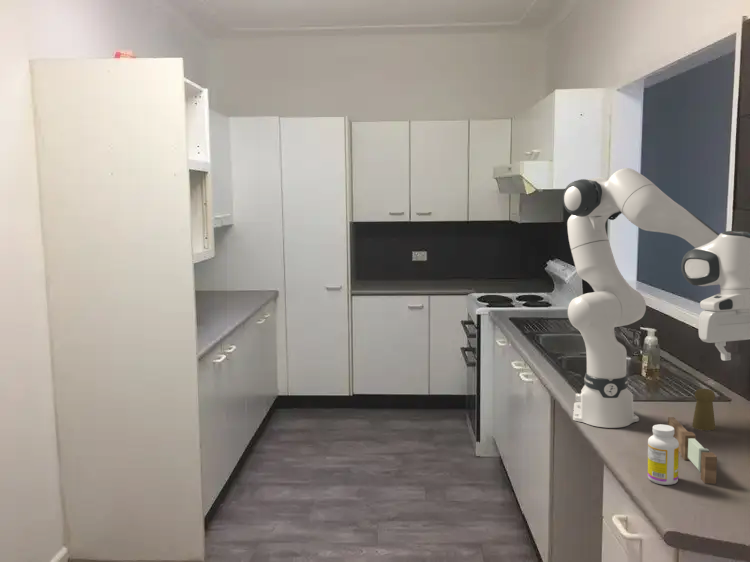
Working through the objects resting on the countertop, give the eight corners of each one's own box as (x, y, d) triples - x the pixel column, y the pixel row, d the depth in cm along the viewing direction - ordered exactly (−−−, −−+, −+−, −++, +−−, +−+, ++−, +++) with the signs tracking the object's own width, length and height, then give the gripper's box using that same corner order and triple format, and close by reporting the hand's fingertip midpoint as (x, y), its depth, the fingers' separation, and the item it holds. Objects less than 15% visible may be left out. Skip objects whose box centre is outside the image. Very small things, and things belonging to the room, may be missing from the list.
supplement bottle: (669, 473, 160) (671, 422, 158) (683, 485, 153) (684, 431, 152) (642, 474, 160) (643, 423, 158) (654, 486, 153) (656, 433, 152)
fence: (665, 438, 182) (666, 415, 181) (675, 438, 182) (675, 415, 181) (704, 483, 154) (705, 456, 153) (716, 483, 154) (716, 456, 153)
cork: (695, 421, 194) (696, 385, 192) (717, 425, 190) (719, 388, 189) (689, 427, 189) (690, 390, 188) (712, 432, 185) (714, 394, 184)
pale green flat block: (686, 457, 166) (687, 436, 166) (694, 457, 166) (695, 436, 165) (700, 472, 158) (700, 450, 157) (708, 472, 157) (709, 450, 157)
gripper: (776, 295, 159) (779, 352, 160) (693, 302, 158) (696, 360, 159) (794, 297, 153) (797, 356, 153) (707, 304, 152) (711, 364, 152)
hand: (745, 358), depth 156 cm, fingers open, 8 cm apart
